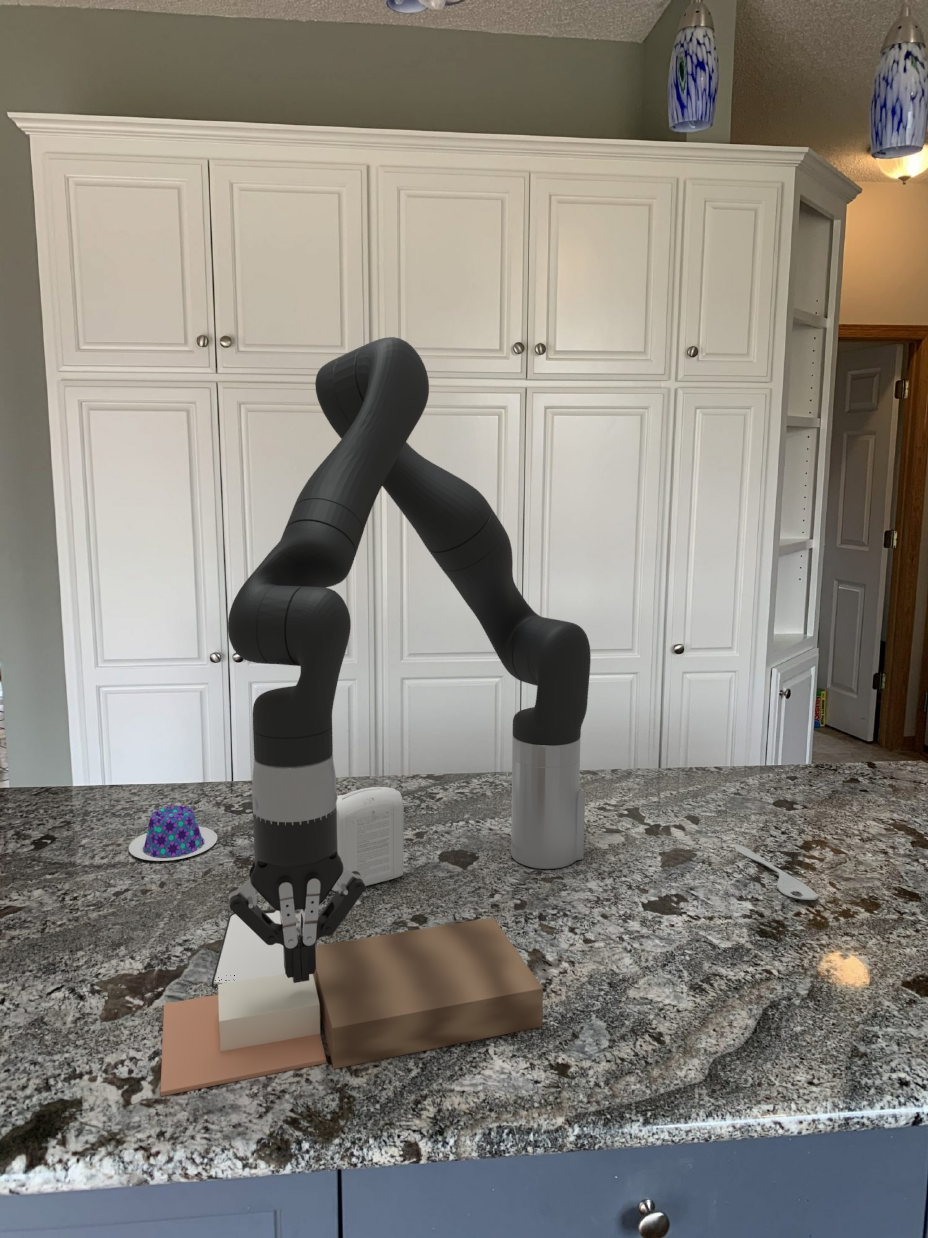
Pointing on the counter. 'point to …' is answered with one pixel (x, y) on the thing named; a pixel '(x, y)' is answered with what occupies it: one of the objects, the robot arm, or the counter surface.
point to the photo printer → (371, 833)
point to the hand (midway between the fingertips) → (299, 977)
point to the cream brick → (267, 1011)
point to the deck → (423, 991)
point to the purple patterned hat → (172, 835)
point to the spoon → (782, 877)
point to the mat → (202, 1064)
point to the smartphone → (247, 953)
